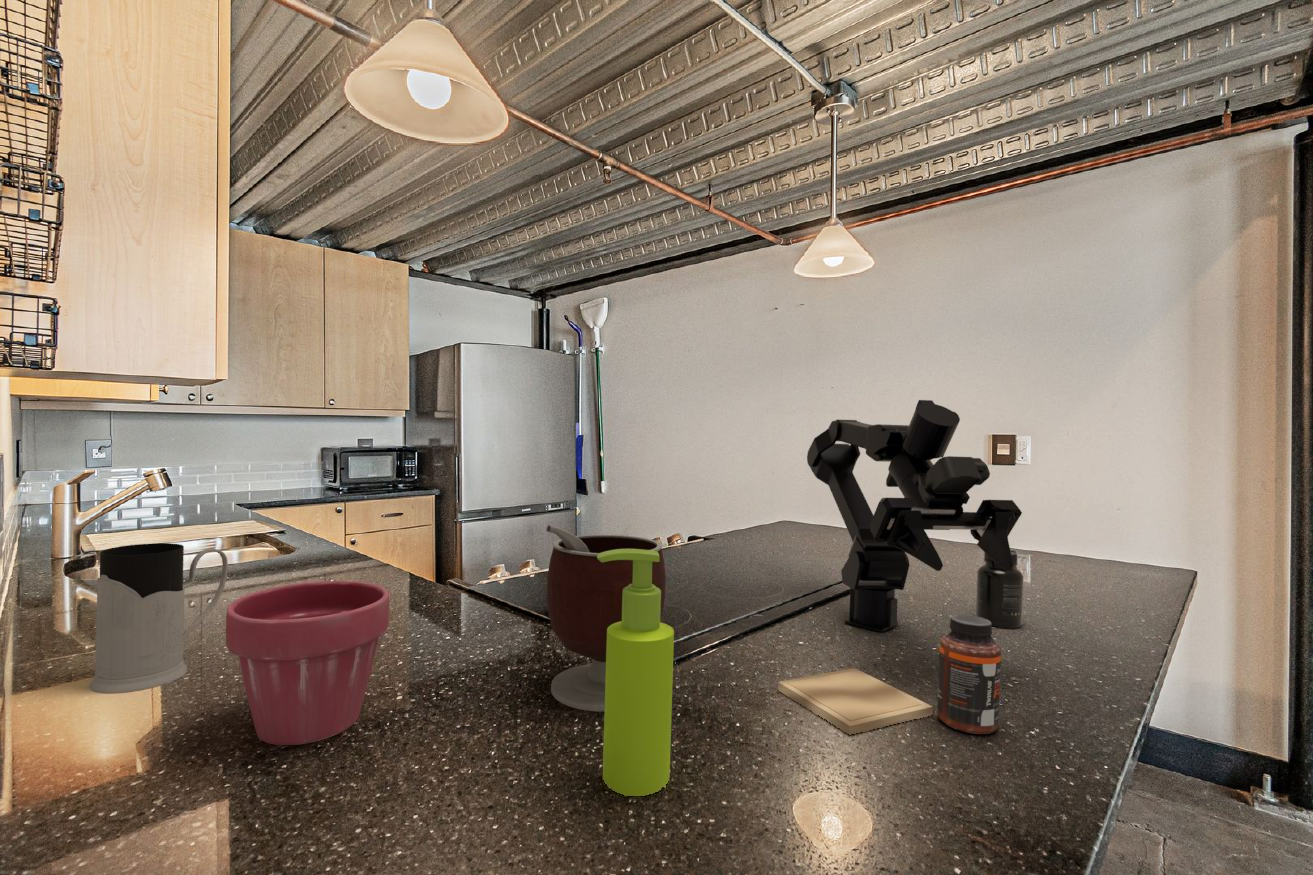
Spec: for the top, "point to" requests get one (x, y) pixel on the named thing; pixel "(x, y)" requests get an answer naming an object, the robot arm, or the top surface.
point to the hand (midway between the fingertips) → (975, 568)
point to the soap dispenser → (638, 685)
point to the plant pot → (306, 655)
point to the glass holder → (143, 616)
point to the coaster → (854, 700)
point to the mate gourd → (590, 606)
